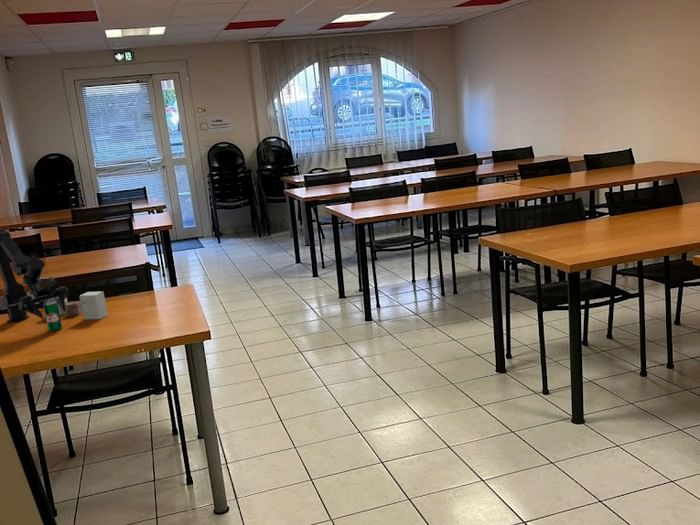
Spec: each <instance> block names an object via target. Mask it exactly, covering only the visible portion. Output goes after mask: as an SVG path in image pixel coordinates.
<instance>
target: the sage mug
mask: <svg viewBox="0 0 700 525" xmlns="http://www.w3.org/2000/svg"><path fill="white" fill-rule="evenodd" d="M48 300H56V299H55V298H52V299H48ZM56 302H57V300H56ZM64 303H65V305H66V304H68V303H69V302H68V299H67V297H66V298H65V299H64ZM58 309H59V314H60V317H61V316H65V315H67V311H65V312H64V311H63V310H62V309H61V308H60V306H59V305H58ZM65 309H66V306H65Z"/></svg>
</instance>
